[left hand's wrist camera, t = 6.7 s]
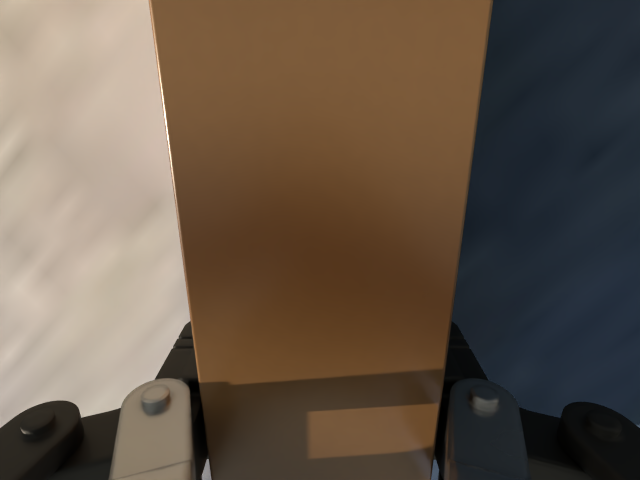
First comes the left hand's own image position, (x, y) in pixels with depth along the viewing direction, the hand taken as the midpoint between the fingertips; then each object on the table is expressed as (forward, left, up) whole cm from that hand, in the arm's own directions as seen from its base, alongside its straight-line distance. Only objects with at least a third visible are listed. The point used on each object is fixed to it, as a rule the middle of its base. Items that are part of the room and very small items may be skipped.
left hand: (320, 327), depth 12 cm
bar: (-7, +22, -2) cm, 23 cm away
